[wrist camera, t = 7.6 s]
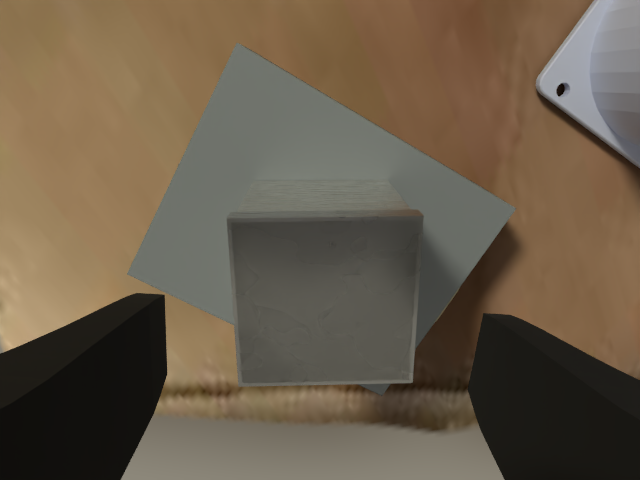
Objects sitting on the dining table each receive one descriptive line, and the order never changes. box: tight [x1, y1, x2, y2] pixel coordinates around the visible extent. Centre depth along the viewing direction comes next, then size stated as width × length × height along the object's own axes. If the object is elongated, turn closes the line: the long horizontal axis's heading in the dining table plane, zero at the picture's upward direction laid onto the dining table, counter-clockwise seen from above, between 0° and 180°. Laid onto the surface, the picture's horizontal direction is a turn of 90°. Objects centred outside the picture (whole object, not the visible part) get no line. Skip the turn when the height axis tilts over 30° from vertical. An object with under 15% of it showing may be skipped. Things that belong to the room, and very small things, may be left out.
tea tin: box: [227, 179, 424, 386], centre depth 15 cm, size 5×5×5 cm
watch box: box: [127, 43, 516, 396], centre depth 19 cm, size 11×9×4 cm
